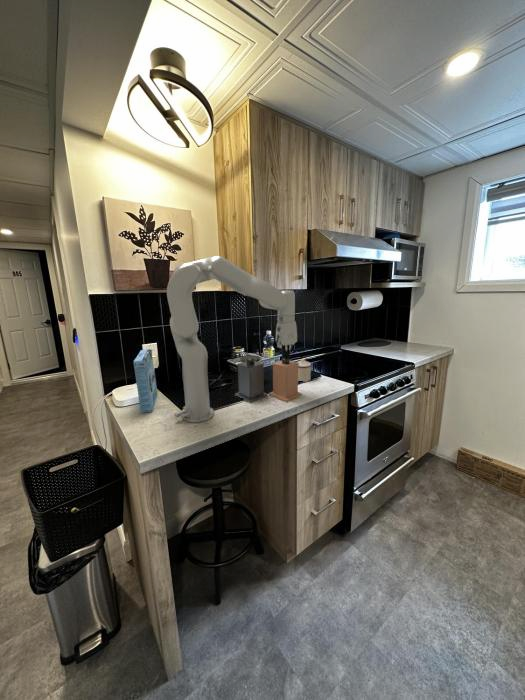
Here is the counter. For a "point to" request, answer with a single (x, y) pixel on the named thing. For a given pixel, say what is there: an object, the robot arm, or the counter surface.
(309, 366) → the teacup with lid
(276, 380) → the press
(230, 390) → the counter surface
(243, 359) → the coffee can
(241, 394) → the press
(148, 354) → the gum box
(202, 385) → the robot arm
